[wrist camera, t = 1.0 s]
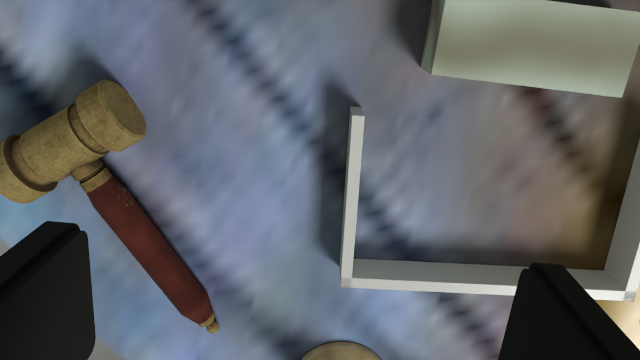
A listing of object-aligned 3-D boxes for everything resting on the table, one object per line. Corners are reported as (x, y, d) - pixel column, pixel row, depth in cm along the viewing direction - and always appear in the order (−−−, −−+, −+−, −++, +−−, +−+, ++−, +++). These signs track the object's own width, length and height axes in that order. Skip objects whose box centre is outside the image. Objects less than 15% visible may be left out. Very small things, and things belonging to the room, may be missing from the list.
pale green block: (433, -10, 32) (447, -13, 29) (612, 12, 33) (649, 13, 29) (419, 66, 34) (431, 74, 30) (589, 87, 34) (621, 97, 31)
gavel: (266, 325, 38) (158, 375, 39) (270, 289, 42) (173, 336, 44) (89, 86, 30) (-34, 160, 32) (116, 72, 35) (6, 138, 36)
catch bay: (350, 106, 35) (352, 115, 32) (655, 121, 35) (684, 131, 32) (339, 266, 39) (340, 287, 36) (611, 279, 39) (633, 301, 36)
